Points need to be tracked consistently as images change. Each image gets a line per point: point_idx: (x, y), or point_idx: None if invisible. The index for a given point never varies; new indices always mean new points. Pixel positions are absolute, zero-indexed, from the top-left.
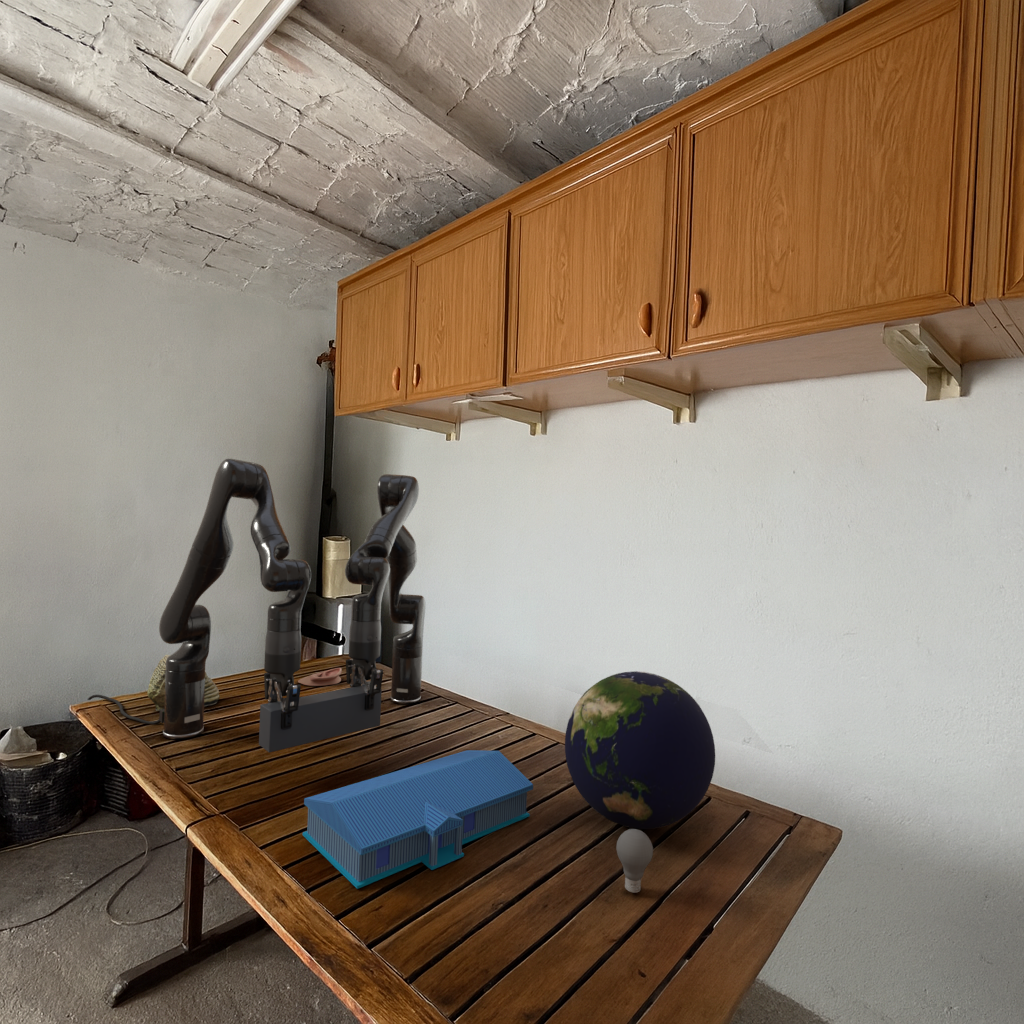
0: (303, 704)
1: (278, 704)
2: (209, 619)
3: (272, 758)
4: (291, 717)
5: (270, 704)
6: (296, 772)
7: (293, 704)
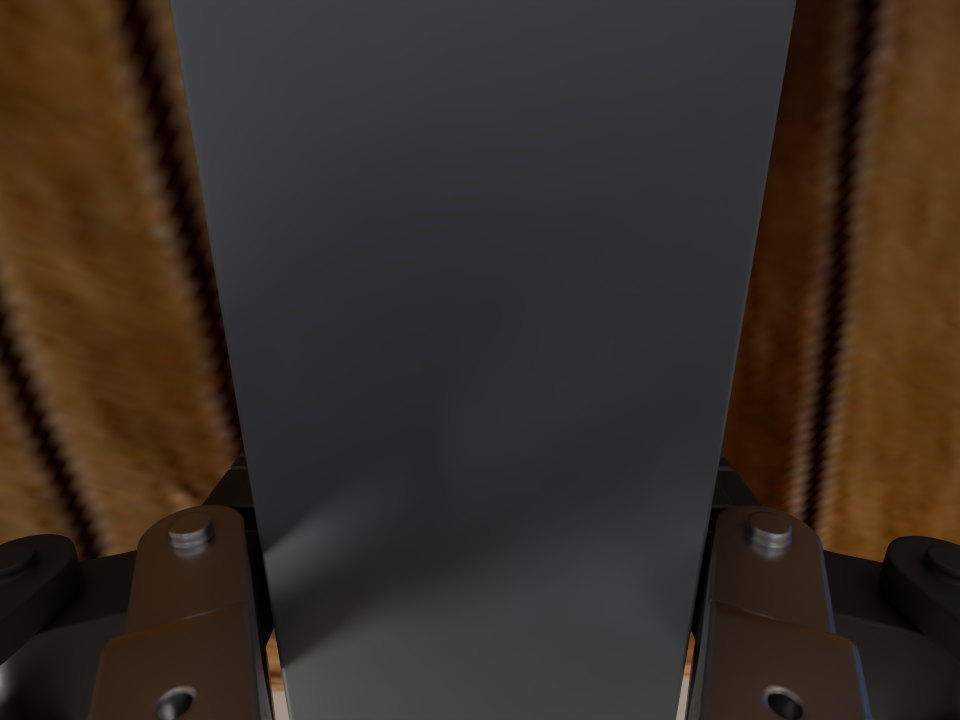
0: (721, 314)
1: (435, 627)
2: None
3: (167, 195)
4: (748, 493)
5: (373, 704)
6: None
7: (823, 590)
